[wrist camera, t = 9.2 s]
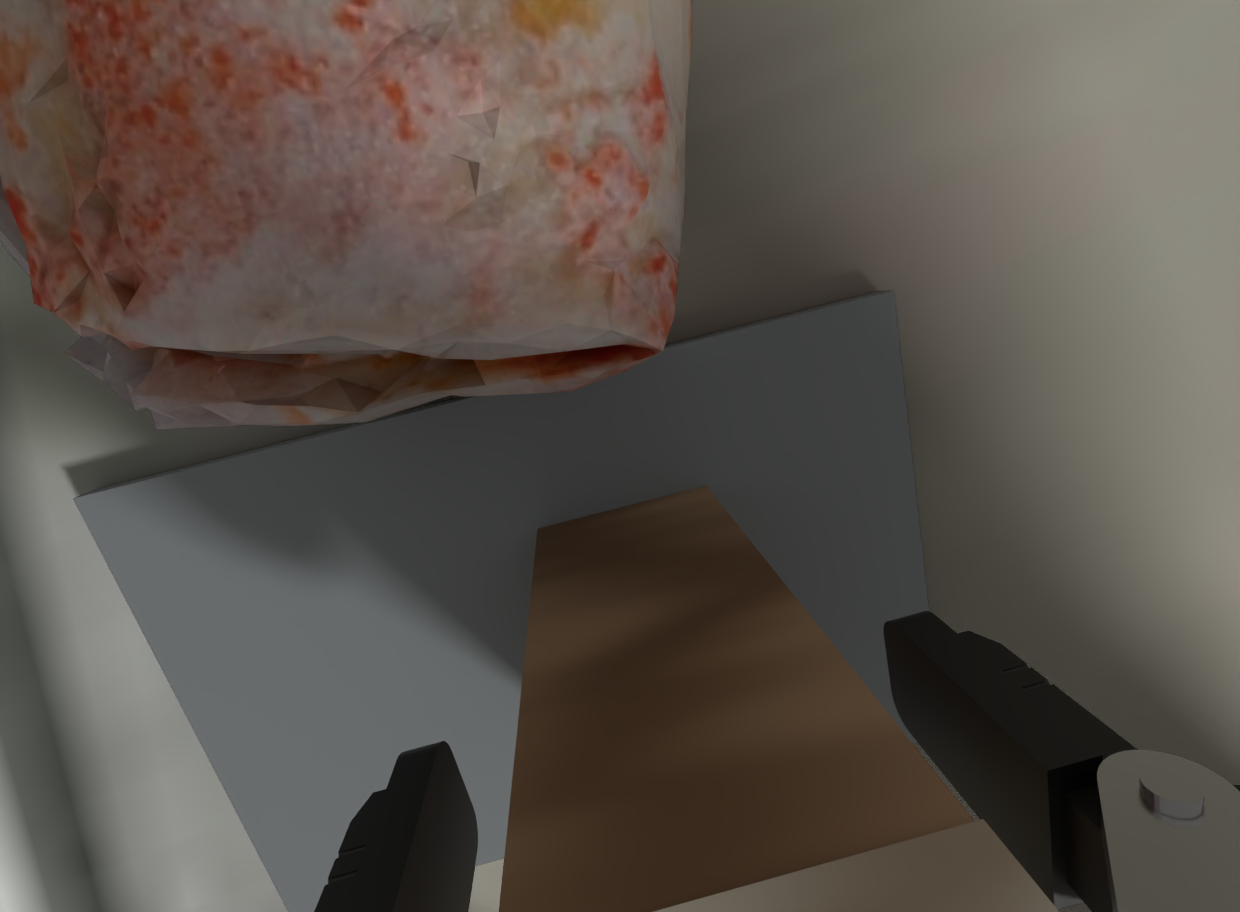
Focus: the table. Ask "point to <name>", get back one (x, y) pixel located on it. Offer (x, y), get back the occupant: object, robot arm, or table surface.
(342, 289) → the food item
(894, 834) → the wooden block
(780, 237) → the table surface
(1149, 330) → the table surface
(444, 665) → the mat
